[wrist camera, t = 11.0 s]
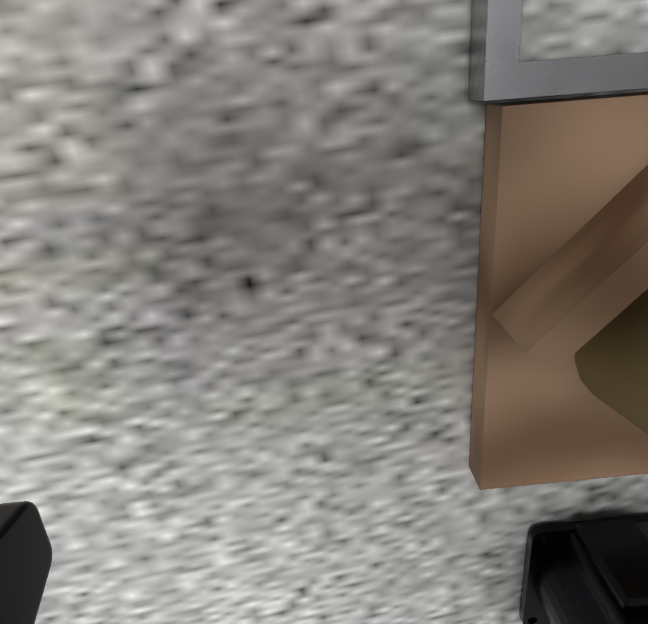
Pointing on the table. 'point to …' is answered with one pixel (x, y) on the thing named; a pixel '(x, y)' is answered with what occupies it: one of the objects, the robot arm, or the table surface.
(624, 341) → the cork
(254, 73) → the table surface
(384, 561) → the table surface
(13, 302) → the table surface
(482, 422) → the dog kennel
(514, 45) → the steel collar
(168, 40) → the table surface
